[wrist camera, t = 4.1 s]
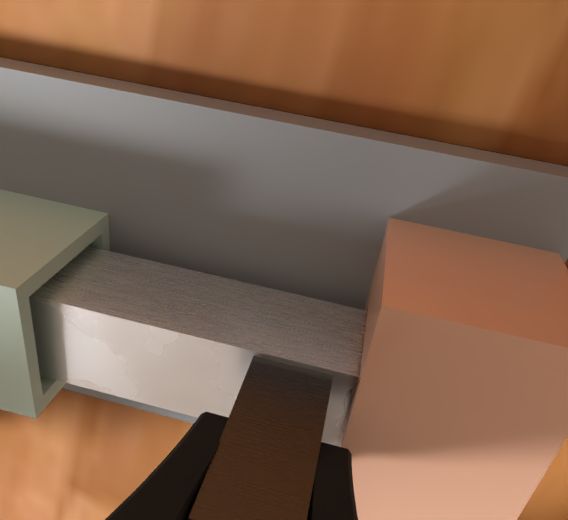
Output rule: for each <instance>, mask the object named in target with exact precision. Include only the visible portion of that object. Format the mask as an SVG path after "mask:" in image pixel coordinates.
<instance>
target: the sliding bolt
mask: <svg viewBox="0 0 568 520" xmlns="http://www.w3.org/2000/svg"><path fill="white" fill-rule="evenodd" d="M29 302H30V309H31V316H32V323H33V330H34V337H35V344H36V351H37V358H38V365H39V372H40V376H43V377H46V378H50V379H54V380H58V381H61V382H65V383H69V384H73V385H76V386H80V387H84V388H88V389H92V390H95V391H99V392H103V393H107V394H110V395H114V396H118V397H122V398H125V399H129V400H133V401H137V402H141V403H144V404H148V405H152V406H156V407H159V408H163V409H167V410H171V411H175V412H178V413H182V414H186V415H190V416H193V417H197V418H198V417H199V416H200V415H201V414H202V413H204V412H210V413H214V414H217V415H221V416H225V417H229V418H228V420H227V423H226V425H225V428H224V430H223V433H222V435H221V438H220V440H219V442H220V444H219V447H218V449H217V451H216V453H215V454H214V456H213V458H212V460H211V463H210V465H209V468H208V470H207V473H206V475H205V478H204V480H203V483H202V485H201V488H200V490H199V493H198V495H197V498H196V500H195V503H194V505H193V508H192V510H191V513H190V515H189V518H188V520H307V515H308V510H309V505H310V499H311V494H312V488H313V483H314V478H315V471H316V467H317V462H318V456H319V451H320V446H321V442H324V443H327V444H331V445H335V446H339V447H340V445H341V442H342V438H343V435H344V431H345V428H346V424H347V420H348V417H349V413H350V410H351V406H352V403H353V399H354V396H355V392H356V389H357V385H358V381H359V377H360V368H361V360H362V352H363V344H364V336H365V328H366V319H367V311H366V310H362V309H357V308H353V307H349V306H344V305H340V304H336V303H331V302H327V301H323V300H319V299H314V298H310V297H306V296H301V295H297V294H293V293H288V292H284V291H280V290H276V289H271V288H267V287H263V286H258V285H254V284H250V283H245V282H241V281H237V280H232V279H228V278H224V277H220V276H215V275H211V274H207V273H202V272H198V271H194V270H189V269H185V268H181V267H176V266H172V265H168V264H164V263H159V262H155V261H151V260H146V259H142V258H138V257H133V256H129V255H125V254H121V253H116V252H112V251H108V250H103V249H99V248H95V247H90V246H87V247H86V248H85V249H84V250H83V251H81V252H80V253H79V254H78V255H77V256H76V257H75V258H73V259H72V260H71V261H70V262H69V263H68V264H66V265H65V266H64V267H63V268H62V269H61V270H60V271H58V272H57V273H56V274H55V275H54V276H53V277H51V278H50V279H49V280H48V281H47V282H46V283H45V284H43V285H42V286H41V287H40V288H39V289H38V290H36V291H35V292H34V293H33V294H32V295H31V296H30V297H29Z"/></svg>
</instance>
